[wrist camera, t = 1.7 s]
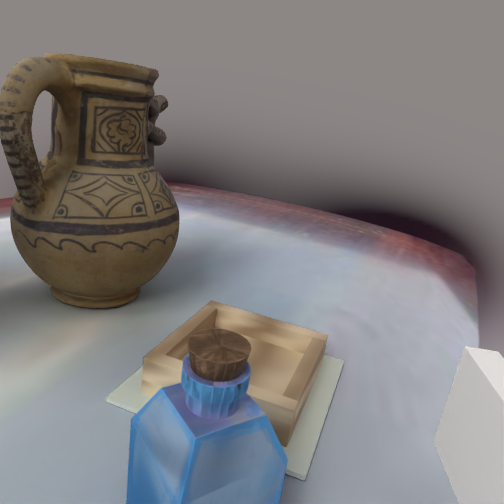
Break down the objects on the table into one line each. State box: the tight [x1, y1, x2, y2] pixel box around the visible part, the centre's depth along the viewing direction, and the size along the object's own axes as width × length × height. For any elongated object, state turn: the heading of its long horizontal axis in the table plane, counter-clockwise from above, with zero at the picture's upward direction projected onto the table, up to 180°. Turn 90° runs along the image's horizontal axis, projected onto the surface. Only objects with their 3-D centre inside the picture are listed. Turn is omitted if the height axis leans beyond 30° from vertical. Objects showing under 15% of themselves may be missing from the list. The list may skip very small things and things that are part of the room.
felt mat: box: [106, 355, 344, 481], centre depth 39 cm, size 16×16×1 cm
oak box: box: [141, 301, 328, 447], centre depth 39 cm, size 12×12×3 cm
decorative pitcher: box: [0, 53, 179, 308], centre depth 48 cm, size 22×18×25 cm
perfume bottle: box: [126, 328, 288, 504], centre depth 24 cm, size 6×6×12 cm
